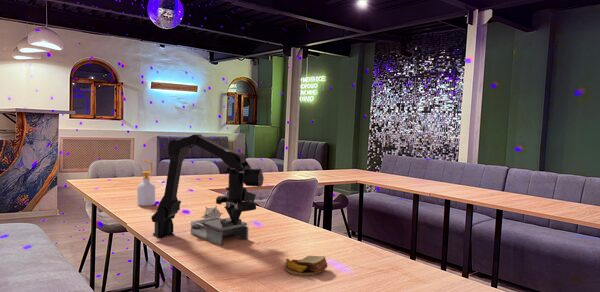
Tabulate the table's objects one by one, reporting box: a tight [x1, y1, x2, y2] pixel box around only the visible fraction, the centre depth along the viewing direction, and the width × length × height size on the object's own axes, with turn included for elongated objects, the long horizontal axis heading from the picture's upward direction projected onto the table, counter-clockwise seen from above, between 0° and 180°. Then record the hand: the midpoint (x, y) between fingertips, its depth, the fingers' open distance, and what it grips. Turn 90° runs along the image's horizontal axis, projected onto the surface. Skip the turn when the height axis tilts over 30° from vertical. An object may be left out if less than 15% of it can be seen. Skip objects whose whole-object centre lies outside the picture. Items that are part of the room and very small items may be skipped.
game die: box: [201, 205, 224, 219], centre depth 189 cm, size 9×8×10 cm
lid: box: [202, 217, 248, 231], centre depth 167 cm, size 13×12×3 cm
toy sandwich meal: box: [284, 255, 328, 277], centre depth 134 cm, size 12×14×5 cm
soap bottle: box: [136, 159, 156, 207], centre depth 228 cm, size 9×9×25 cm
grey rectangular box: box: [190, 216, 249, 247], centre depth 170 cm, size 17×22×5 cm
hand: (235, 224), depth 162 cm, fingers closed
